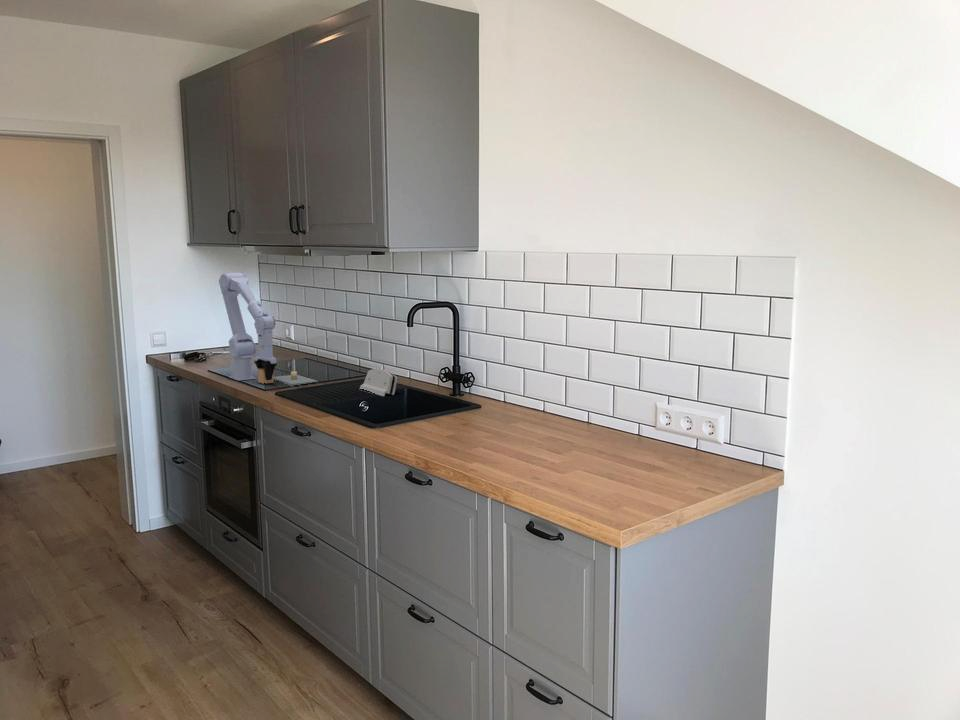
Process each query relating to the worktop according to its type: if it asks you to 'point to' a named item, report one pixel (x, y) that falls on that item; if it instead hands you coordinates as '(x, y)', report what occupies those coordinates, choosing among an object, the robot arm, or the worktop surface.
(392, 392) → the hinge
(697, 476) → the worktop surface
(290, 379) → the board
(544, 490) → the worktop surface
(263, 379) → the tan wooden cube
